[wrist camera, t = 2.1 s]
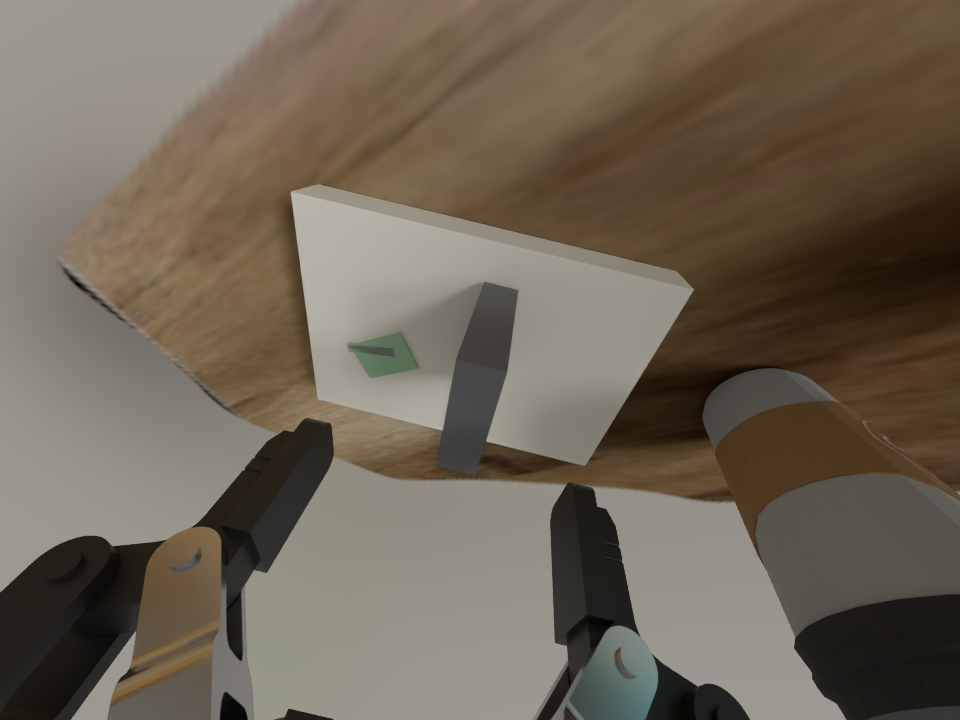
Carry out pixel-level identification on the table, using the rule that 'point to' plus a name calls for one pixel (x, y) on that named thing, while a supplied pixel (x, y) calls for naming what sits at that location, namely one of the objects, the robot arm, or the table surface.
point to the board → (449, 307)
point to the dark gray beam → (478, 379)
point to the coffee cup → (846, 544)
